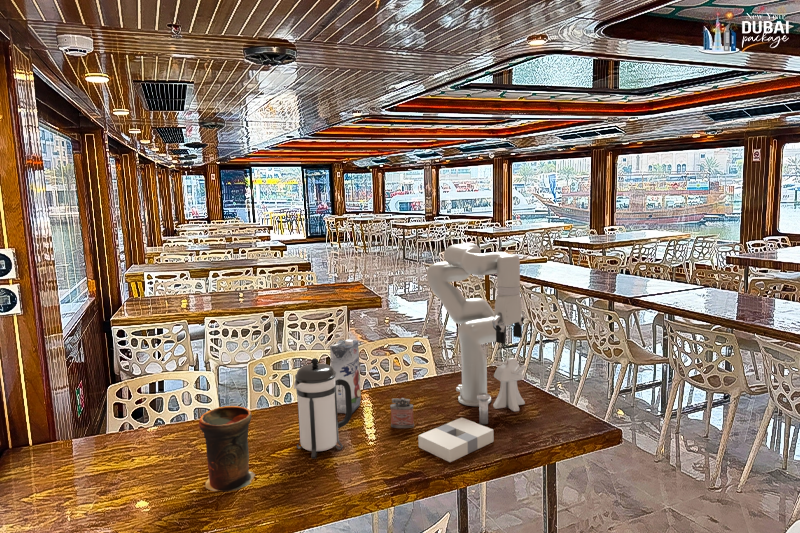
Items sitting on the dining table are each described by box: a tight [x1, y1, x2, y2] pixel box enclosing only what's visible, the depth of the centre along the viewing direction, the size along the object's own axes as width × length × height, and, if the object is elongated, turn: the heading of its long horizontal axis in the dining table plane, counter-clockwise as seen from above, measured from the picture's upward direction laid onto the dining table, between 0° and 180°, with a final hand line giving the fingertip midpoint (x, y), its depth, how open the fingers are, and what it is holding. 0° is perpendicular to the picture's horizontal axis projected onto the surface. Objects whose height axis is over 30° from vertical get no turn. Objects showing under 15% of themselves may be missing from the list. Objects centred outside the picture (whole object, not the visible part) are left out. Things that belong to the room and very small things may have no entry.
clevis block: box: [417, 416, 495, 463], centre depth 183 cm, size 20×14×4 cm
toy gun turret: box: [490, 357, 527, 412], centre depth 212 cm, size 12×13×18 cm
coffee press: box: [293, 357, 353, 460], centre depth 182 cm, size 17×16×30 cm
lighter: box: [389, 397, 415, 429], centre depth 198 cm, size 8×3×10 cm, turn 84°
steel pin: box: [477, 392, 491, 425], centre depth 198 cm, size 4×4×10 cm
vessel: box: [198, 405, 256, 493], centre depth 164 cm, size 14×14×20 cm
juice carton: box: [329, 339, 362, 414], centre depth 213 cm, size 9×10×27 cm
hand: (509, 339), depth 196 cm, fingers open, 9 cm apart
